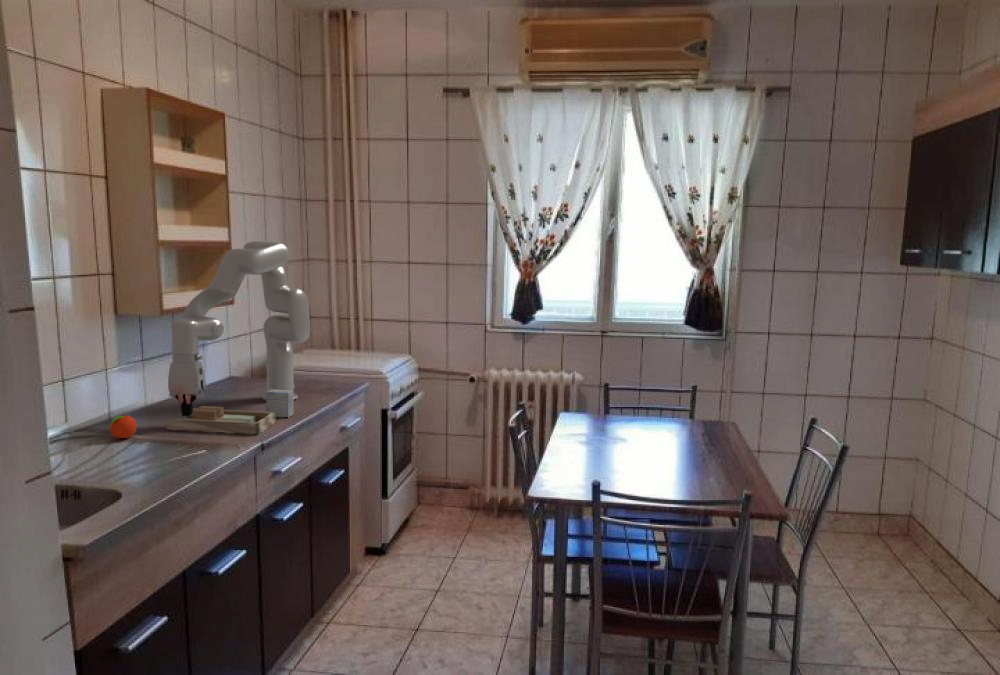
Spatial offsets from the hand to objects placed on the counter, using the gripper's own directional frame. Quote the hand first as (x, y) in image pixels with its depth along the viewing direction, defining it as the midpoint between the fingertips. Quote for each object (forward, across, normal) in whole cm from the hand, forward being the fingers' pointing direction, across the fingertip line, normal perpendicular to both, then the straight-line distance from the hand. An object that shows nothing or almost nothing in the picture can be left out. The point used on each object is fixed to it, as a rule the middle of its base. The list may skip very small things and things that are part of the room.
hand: (187, 415), depth 214 cm
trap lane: (+3, -12, 0) cm, 12 cm away
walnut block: (+1, -7, 0) cm, 7 cm away
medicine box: (+3, -24, -16) cm, 29 cm away
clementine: (+3, +10, +18) cm, 21 cm away
